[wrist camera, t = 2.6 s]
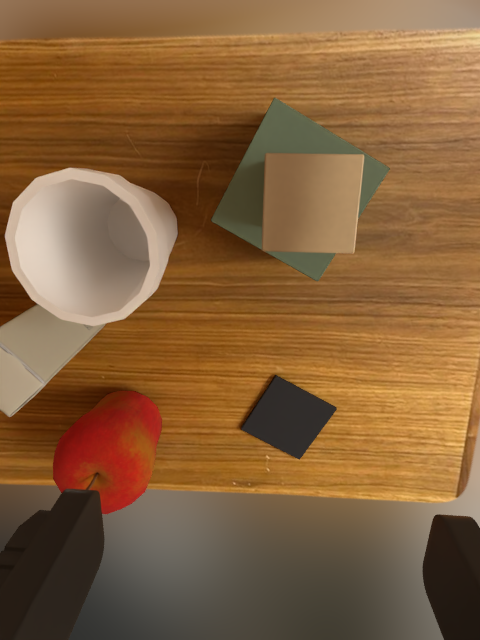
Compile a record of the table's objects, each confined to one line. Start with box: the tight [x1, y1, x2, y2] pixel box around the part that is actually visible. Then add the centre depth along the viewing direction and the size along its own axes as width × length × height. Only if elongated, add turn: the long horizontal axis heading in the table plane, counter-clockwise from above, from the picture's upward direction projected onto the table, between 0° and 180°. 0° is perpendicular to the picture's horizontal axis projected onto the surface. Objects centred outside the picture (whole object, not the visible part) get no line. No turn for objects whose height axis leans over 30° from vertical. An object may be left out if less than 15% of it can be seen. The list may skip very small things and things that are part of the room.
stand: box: [211, 98, 390, 281], centre depth 33 cm, size 9×9×7 cm
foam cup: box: [5, 168, 178, 326], centre depth 32 cm, size 10×9×13 cm
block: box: [262, 153, 364, 254], centre depth 25 cm, size 4×4×10 cm
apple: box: [53, 391, 162, 514], centre depth 38 cm, size 9×8×12 cm
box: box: [0, 304, 106, 417], centre depth 35 cm, size 5×4×13 cm
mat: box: [241, 375, 336, 459], centre depth 43 cm, size 7×7×1 cm
